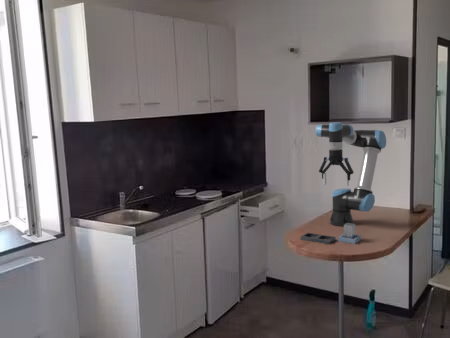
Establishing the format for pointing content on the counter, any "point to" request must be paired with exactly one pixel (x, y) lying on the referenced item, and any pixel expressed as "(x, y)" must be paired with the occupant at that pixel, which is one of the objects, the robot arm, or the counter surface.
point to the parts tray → (348, 240)
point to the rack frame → (318, 238)
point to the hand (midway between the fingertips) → (335, 185)
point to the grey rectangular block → (349, 230)
